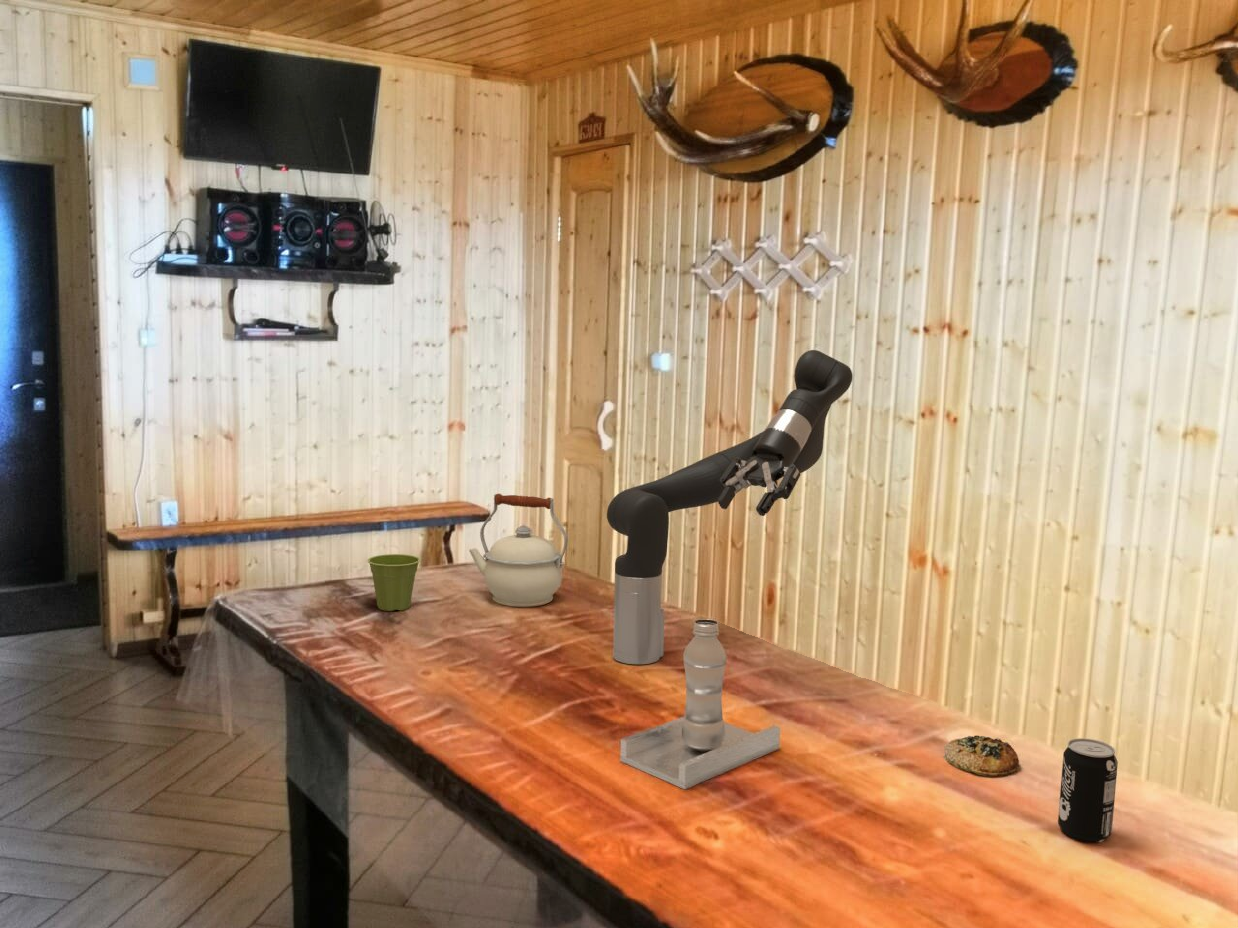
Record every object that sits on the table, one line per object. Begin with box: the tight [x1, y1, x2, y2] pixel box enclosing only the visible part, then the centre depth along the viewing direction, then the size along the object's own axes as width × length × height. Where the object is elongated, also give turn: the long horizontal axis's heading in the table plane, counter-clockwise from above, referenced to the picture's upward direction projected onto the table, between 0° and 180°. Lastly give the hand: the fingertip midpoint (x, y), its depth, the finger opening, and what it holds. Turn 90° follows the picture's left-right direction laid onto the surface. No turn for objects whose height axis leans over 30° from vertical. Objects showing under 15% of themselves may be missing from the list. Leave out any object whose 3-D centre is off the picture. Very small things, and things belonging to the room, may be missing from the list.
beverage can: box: [1057, 738, 1119, 843], centre depth 142 cm, size 7×7×12 cm
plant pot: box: [366, 553, 422, 612], centre depth 244 cm, size 12×12×11 cm
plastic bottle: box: [682, 618, 727, 751], centre depth 165 cm, size 6×7×20 cm
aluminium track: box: [619, 715, 781, 790], centre depth 166 cm, size 22×13×4 cm, turn 134°
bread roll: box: [943, 735, 1020, 778], centre depth 165 cm, size 11×11×5 cm
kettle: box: [468, 493, 569, 608], centre depth 253 cm, size 25×18×25 cm
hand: (740, 509), depth 188 cm, fingers open, 8 cm apart
